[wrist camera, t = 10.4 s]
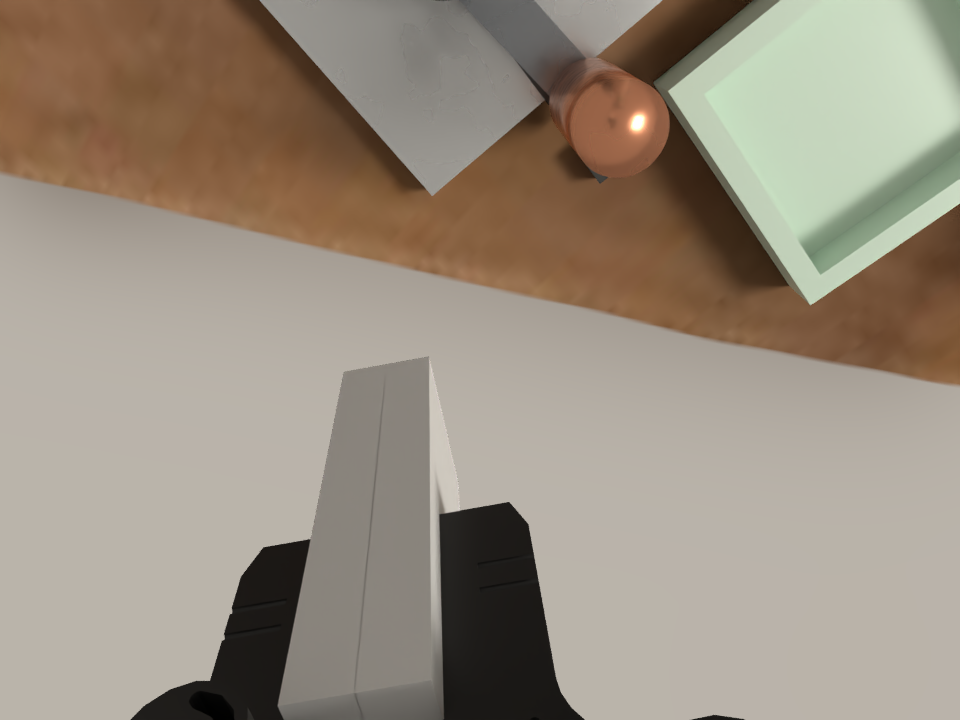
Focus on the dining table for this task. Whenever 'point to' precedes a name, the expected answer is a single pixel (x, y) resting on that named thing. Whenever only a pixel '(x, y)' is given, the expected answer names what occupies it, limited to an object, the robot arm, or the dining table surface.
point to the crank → (581, 90)
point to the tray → (828, 126)
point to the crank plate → (438, 70)
